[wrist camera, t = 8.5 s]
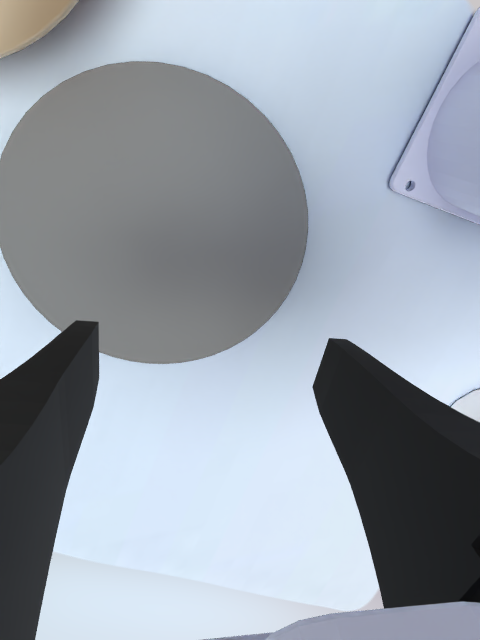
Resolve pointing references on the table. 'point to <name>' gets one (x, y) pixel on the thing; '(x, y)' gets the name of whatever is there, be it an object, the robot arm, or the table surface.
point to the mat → (152, 211)
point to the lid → (29, 21)
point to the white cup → (469, 405)
